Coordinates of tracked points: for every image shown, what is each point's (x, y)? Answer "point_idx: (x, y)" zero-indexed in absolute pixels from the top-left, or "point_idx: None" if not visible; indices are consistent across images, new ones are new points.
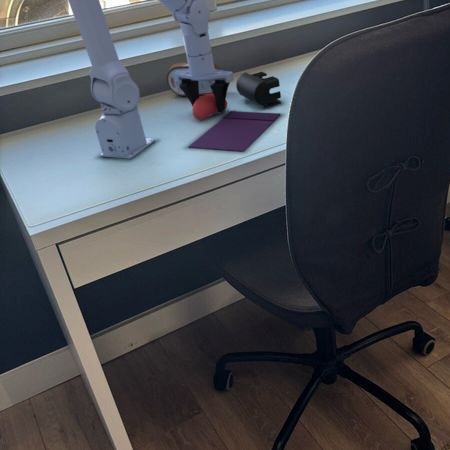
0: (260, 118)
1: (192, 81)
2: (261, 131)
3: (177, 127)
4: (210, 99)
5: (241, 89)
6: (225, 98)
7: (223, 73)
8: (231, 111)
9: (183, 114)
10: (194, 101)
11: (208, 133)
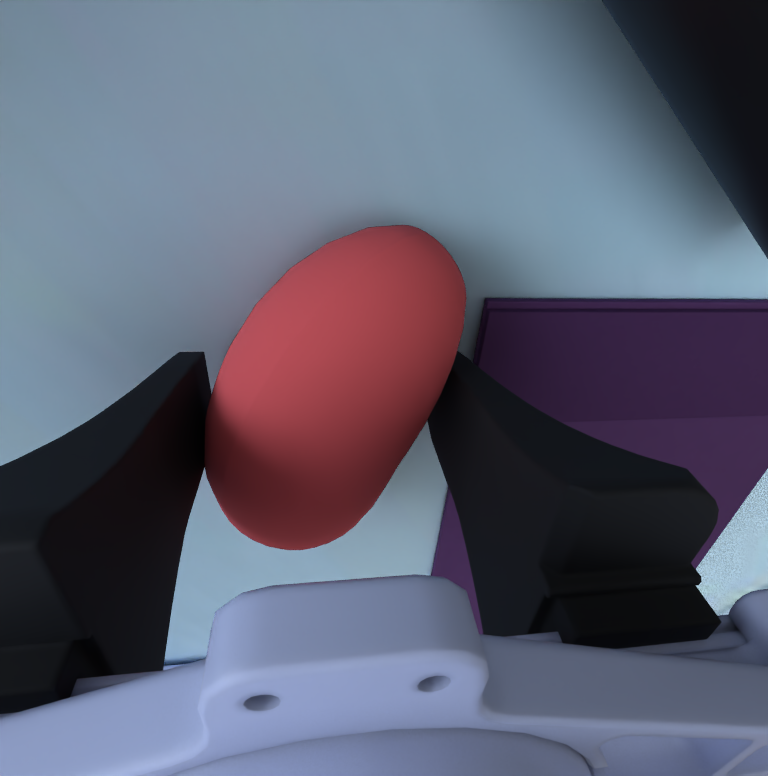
0: (736, 405)
1: (110, 665)
2: (724, 519)
3: (209, 547)
4: (382, 485)
5: (677, 72)
6: (508, 393)
7: (758, 766)
8: (502, 320)
9: (54, 377)
10: (192, 481)
11: (454, 578)
